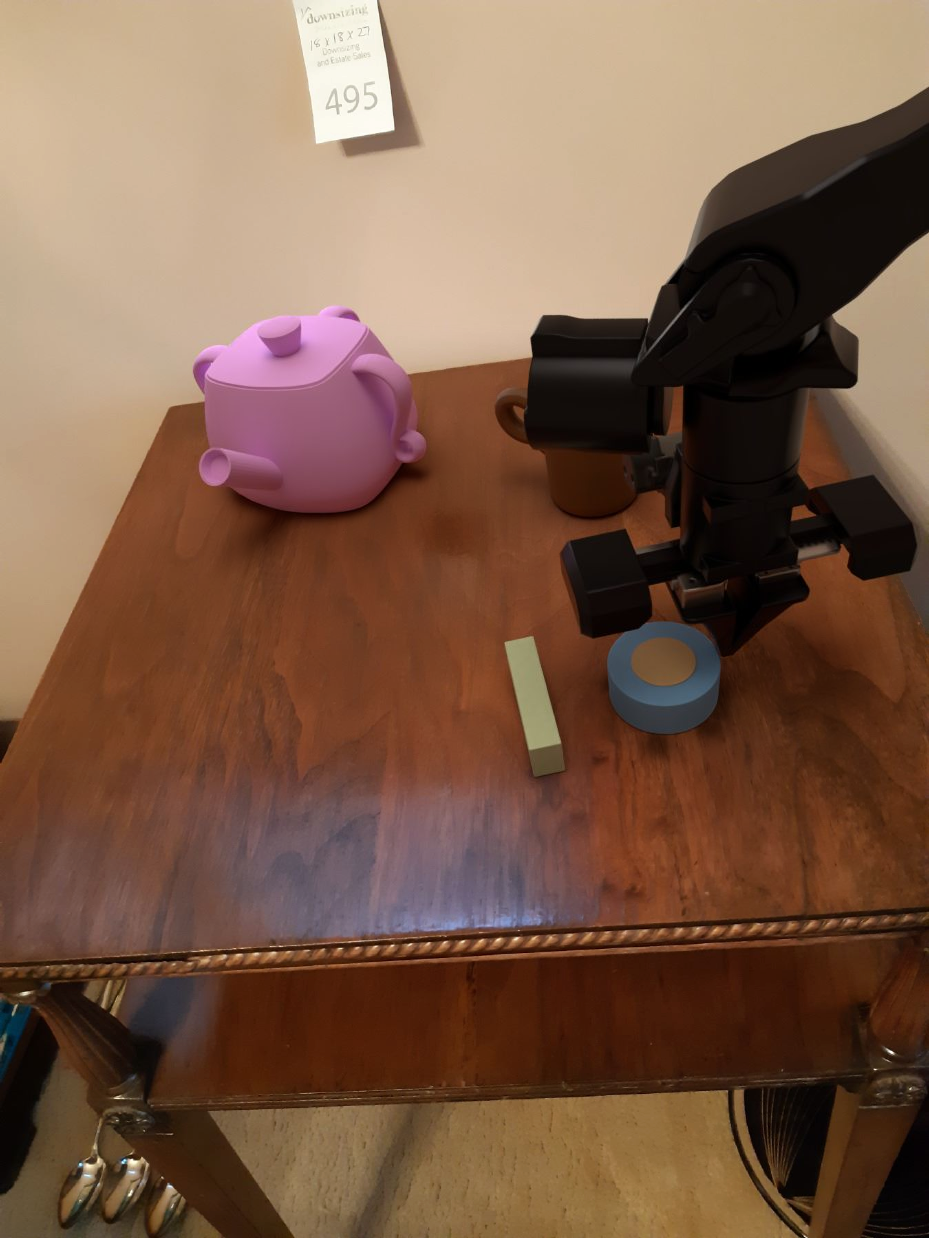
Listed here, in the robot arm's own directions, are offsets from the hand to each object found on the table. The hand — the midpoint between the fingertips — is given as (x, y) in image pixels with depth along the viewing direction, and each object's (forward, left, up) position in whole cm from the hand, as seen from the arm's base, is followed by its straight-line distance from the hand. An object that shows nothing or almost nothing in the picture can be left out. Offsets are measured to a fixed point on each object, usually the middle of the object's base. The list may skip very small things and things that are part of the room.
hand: (724, 651), depth 53 cm
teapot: (+27, -33, -3) cm, 43 cm away
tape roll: (+4, 0, -3) cm, 5 cm away
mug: (+5, -23, -3) cm, 24 cm away
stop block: (+13, 0, -3) cm, 13 cm away
